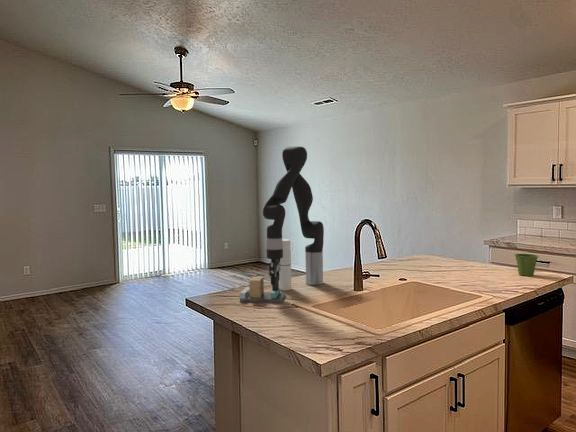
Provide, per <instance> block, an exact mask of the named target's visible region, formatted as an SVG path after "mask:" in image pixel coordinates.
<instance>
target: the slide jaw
mask: <svg viewBox="0 0 576 432" xmlns="http://www.w3.org/2000/svg"><path fill="white" fill-rule="evenodd" d="M271 286H272V287H271V292H270V294H271V298H277V296H278V295H279V294H280V293H281V290H280V287H279V276H278V275H277V274H276V284H275V285H271Z"/></svg>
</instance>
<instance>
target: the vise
mask: <svg viewBox="0 0 576 432" xmlns="http://www.w3.org/2000/svg"><path fill="white" fill-rule="evenodd" d="M270 293H271V292H270V291H269V292H268V291H265V292H264V294H263V295H262V296H261V297H260V298H252V297H250V289H249V286H245V287H244V289H243V290H242V291H240V292H239V302H240V303H270V304H271V303H274V304H275V303H277V304H281V303H282V302H283V300H285V298H286V293H285V292H280V294H279V295H278V296H277V298H271V294H270Z"/></svg>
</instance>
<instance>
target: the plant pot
mask: <svg viewBox="0 0 576 432" xmlns="http://www.w3.org/2000/svg"><path fill="white" fill-rule="evenodd" d="M514 256H515V261H516V266H517V272H518V275H519V276H522V277H523V276H524V277H533V276H534V274H535V269H536V265H537V261H538V257H539V256H540V255H537V254H532V253H515V254H514Z"/></svg>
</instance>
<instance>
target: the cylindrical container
mask: <svg viewBox="0 0 576 432" xmlns="http://www.w3.org/2000/svg"><path fill="white" fill-rule="evenodd" d="M282 241H283V258H281V259H280V269H281V270H280V272H279V287H280V291H291V289H292V253H291V251H292V250H291V246H292V245H291V244H292V243H291V239H290V238H289V239H288V238H282Z"/></svg>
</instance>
